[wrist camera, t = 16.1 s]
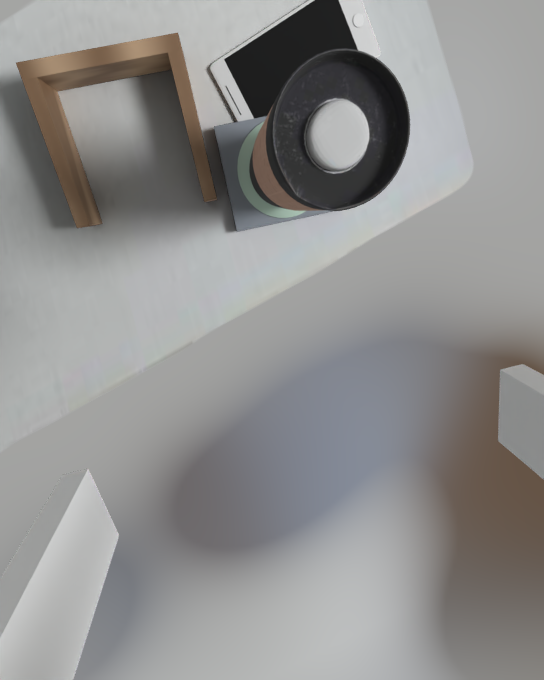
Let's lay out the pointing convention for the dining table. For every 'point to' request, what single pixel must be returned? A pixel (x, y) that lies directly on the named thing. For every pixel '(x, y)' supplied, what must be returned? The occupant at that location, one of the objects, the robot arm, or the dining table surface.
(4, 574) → the robot arm
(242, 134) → the dock pad
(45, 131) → the mug cradle
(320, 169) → the travel mug
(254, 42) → the smartphone
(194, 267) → the dining table surface
